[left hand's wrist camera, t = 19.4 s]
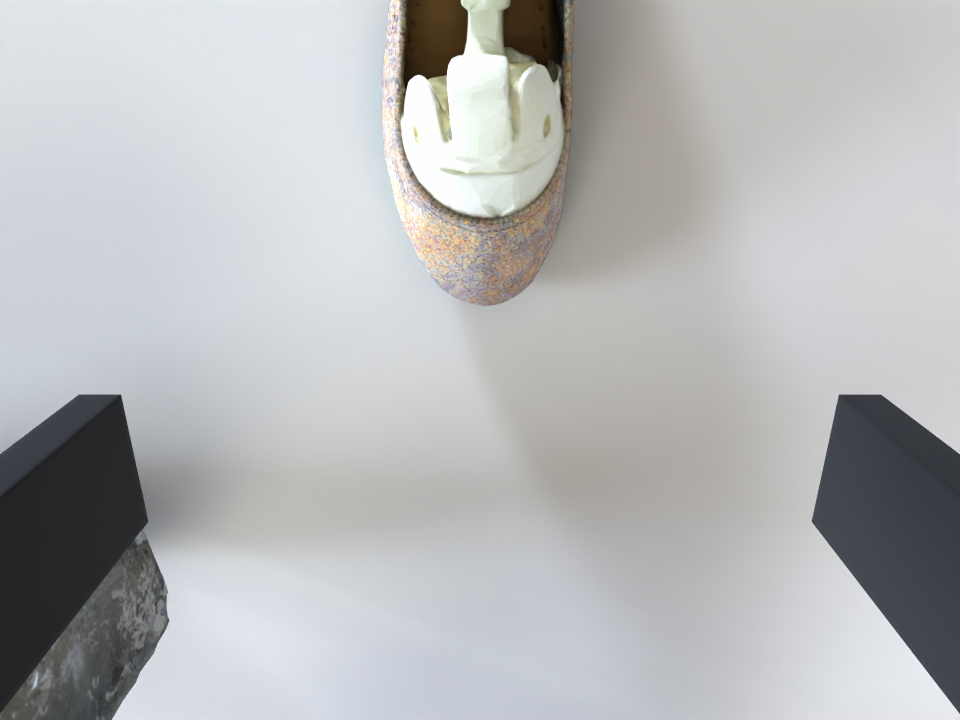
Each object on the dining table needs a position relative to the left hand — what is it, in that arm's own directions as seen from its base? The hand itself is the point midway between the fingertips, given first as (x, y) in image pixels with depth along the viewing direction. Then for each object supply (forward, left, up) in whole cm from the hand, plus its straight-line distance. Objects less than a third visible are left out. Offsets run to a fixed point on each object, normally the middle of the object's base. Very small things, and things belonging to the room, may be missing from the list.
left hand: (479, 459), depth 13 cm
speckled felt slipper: (+5, +8, -22) cm, 23 cm away
